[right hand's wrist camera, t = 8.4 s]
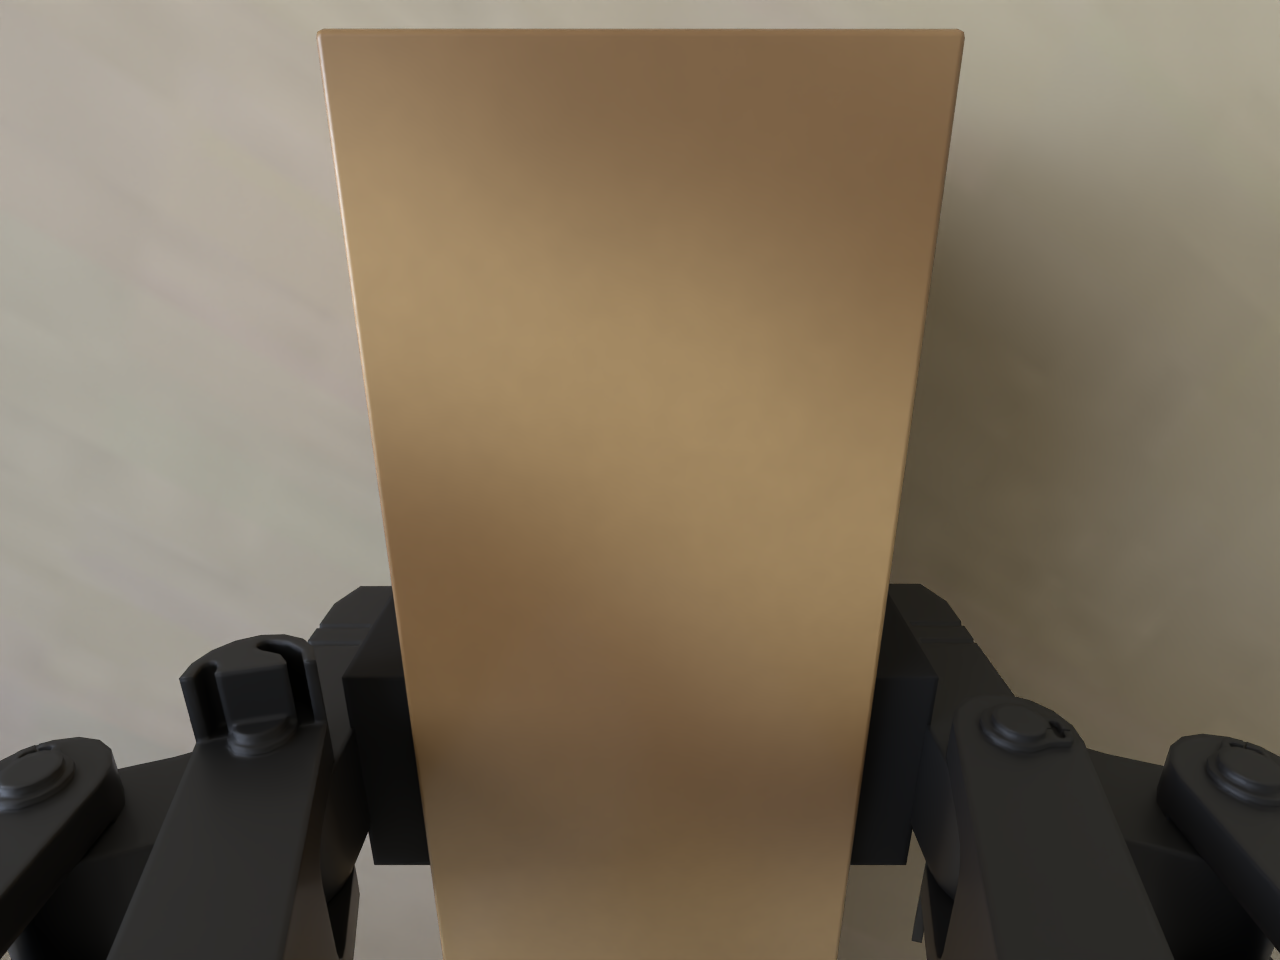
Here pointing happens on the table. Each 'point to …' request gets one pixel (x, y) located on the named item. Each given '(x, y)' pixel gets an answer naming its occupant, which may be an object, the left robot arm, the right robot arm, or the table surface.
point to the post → (640, 456)
